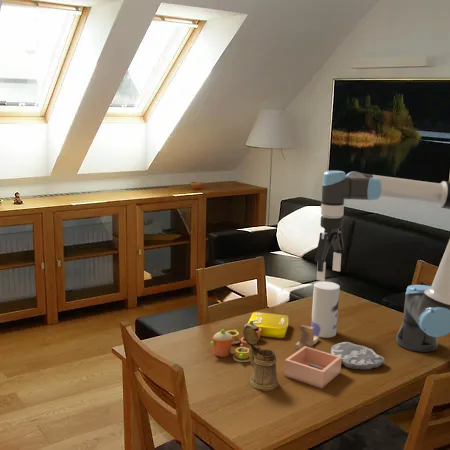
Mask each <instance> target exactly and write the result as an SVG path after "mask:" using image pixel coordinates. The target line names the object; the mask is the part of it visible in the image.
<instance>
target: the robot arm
mask: <svg viewBox="0 0 450 450" xmlns="http://www.w3.org/2000/svg"><path fill="white" fill-rule="evenodd" d="M321 186H322V187H321V205H320V208H321V210H320V215H321V217H320V227H321V228H323V229H324V230H323V231H324V232H320V233H319V237H318V238H319V240H318V243H317V247H316V251H315V252H316V253H315V256H314V262H316V263H317V264H316V265H317V267H316V281H320V282H326V281H325V280H326V267H327V265H326V264H327V263H326V258H327V256H328V253H329V250H330V247H331V246H332V247H333V251H334V252H333V254H332V255H333V257H332V271H334V272H335V271H336V272H341V269H342V268H341V266H342V254H344V253H345V245H344V243H345V242H344V237H343V223H344V218H343V217H344V212H345V211H344V209H345V208H344V207H345V200H360V201H361V200H363V201H373V200H375V201H376V200H379V199H380V198H388V199H393V200H394V199H395V200H403V201H410V202H416V203H424V204H425V203H426V204H432V205H436V206H437V207H438V208H441V209H446V210H450V181H445V180H442V181H441V182H439V183H438V182H430V181H425V180H424V181H422V180H416V179H415V180H414V179H410V178H409V179H408V178H400V177H392V176H387V175H386V176H385V175H378V174H377V175H376V174H368V173H362V172H359V171H350V172H348V173H347V174H346V172H345V171H342V170H326V171H324V173H323V177H322V185H321ZM404 294H405V298H404V299H405V300H404V308H403V317H402V318H403V319H402V323H401V325H400V327H399V329H398V331H397V334H396V338H395V339H396V340H395V341H396V343H397V345H398V346H400V347H401V348H404V349H406V350H409V351H414V352H419V353H420V352H421V353H427V352H434V351H436V350H437V349H438V346H439V340H438V338H441V337H444V336H446V335H448V334H450V239H448V242H447V245H446V248H445V251H444V253H443V256H442V258H441V259H440V263H439V266H438V269H437V270H436V274H435V275H434V278H433V281H432V284H431V285H427V284H411V285H408V286H407V288H406V292H405V293H404Z"/></svg>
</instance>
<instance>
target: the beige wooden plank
mask: <svg viewBox="0 0 450 450" xmlns="http://www.w3.org/2000/svg"><path fill="white" fill-rule="evenodd" d="M319 340H320V337H318V336H315V335H314V339H313V346H314V345H315V344H316V343H318V342H320V341H319ZM294 349H296V350H299V341H298V342H296V343H295V344H294Z"/></svg>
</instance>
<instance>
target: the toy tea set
mask: <svg viewBox="0 0 450 450" xmlns="http://www.w3.org/2000/svg"><path fill="white" fill-rule="evenodd" d="M246 325H248V326H251V327H252V328H253V329H254V330H255V331H256V333H257V335H258V341H260V339H261V336H260V333H261V328H260V327H258V326H257V325H256V324H254V323H253V321H252V320H251V321H250V323H248V322H247V323H246V324H245V325H244V327H245V326H246ZM239 335H240V333H239V331H238V330H237V329H231V330H227V331H225V329H224V328H222V329H221V330H220V331H218V332H216V333H215V334H213V335H212V337H211V341H210V345H211V346H212V350H213V354H214V355H215V356H216V357H221V358H222V357H224V358H225V357H228V356H229V355H230V354H231V350H232V345H237V344H239V343H240V345H239V346H240V347H236V348H235V349H234V351H235V354H233V356H232V358H233V360H234V361H236V362H239V363H247V362H250V359H249V349H250V347H251V346H250V345H249V344H248V343H247V342H246V341H245V339H244V336H242V337H241V338H240V336H239Z"/></svg>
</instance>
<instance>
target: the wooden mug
mask: <svg viewBox="0 0 450 450" xmlns="http://www.w3.org/2000/svg"><path fill="white" fill-rule="evenodd" d="M245 325H246V324H245ZM245 325H244V328H243V332H242V337H244V339H245V341H246V342H247V343H248V344H249V345H250V346H251V347H250V349H249V359H250V361H249V362H250V364H251V367H252V373H251V376H250V379H249V385H250V386H251V387H252V388H255V389H257V390H258V391H259V390H260V391H273V390H275V389H277V388H278V387H279V381H278V372H277V364H276V363H277V357H276V352H275V351H273V350H271V349H261V348H260V347H259V345H258V342H259V340H258V335H257V333H256V331H255V330H254V329H253V328H252V327H251V326H248V325H246V326H245Z"/></svg>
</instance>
